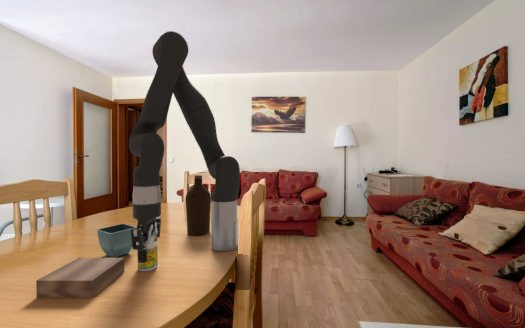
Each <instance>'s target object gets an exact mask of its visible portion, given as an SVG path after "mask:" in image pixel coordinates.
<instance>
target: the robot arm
mask: <svg viewBox="0 0 525 328" xmlns="http://www.w3.org/2000/svg"><path fill="white" fill-rule="evenodd" d="M151 53H152V56H153V59H154V61H155V63H156V66H157V68H156V71H155V73H154V77H153V79H152V82H151V83H150V85H149V88H148V90H147V92H146V95H145V98H144V100H143V103H142V104H143V105H142V109H141V112H140V116H139V119H138V120H137V122H136V124H135V125H134V127H133V130H132V132H131V134H130V137H129V140H128V147H129V151H130V153H131V154H132V155H134V156H136V157H138V158H139V157H140V158H139V163H138V166H136V167H134V169H133V175H132V176H133V177H132V178H133V179H132V181H133V185H132V186H133V189H132V218H133V219H135V220H137V223H136V225H137V226H136V227H137V228H136V229H132V230H131V239H132V250H135V251H137V250H138V256H137V263H138V262H139V263H145V262H146V261H147V243H148V241H149V240H150V236H151V234H154V235H155V240H154V241H156V242H158V238H161V237H160V236H161V227H162V226H161V225H162V218H159V217H160V216H161V215H162V197H161V196H162V192H161V183H160V182H161V178H160V176H161V175H160V173H161V172H160V171H161V167H162V165H163V164H162V163H163V160H164V155H165V144H164V140H163V138H162V137H161V136H160V134H158V133H157V132H158V131H159V130H160V129H162V128H164V127H165V125H166V122H167V117H168V113H169V109H170V105H171V101H172V98H173V97H172V96H174V99H176V102H177V105H178V106H179V108H180V111H181V113H182V115H183V118H184V119H185V121H186V124H187V126H188V127H189V129H190V131H191V133H192V135H193V137H194V139H195V142H196V143H197V146H198V148H199V149H200V151H201V154H202V157H203V159H204V162H205V165H206V168H207V171H208V173H209V175H210V176H211V177H212V178H213V179H214V180H215V181H214V183H215V184H214V185H215V186H214V190H213V191H212V193H211V194H210V195H211V249H212V250H214V251H216V252H229V251H233V250H234V251H235V250H237V247H238V245H239V219H238V195H239V191H240V180H241V179H240V178H241V171H240V170H241V169H240V163H239V161H238V160H237V159H236V158H235V157H233V156H230V155H225V153H224V151H223V149H222V147H221V145H220V143H219V140H218V135H217V127H216V126H217V125H216V120H215V117H214V114H213V112H212V110H211V107H210V105H209V103H208V101H207V99H206V97H204V96H203V94H202V93H201V92H200V91H199V90H198V89H197V88H196V87H195V86H194V85H193V84H192V83H191V81H190V79H189V78H188V76H187V74H186V72H185V71H186V70H185V69H184V63H185V62H186V59H187V58H188V54H189V45H188V42H187V40H186V39H185V38H184V36H183V35H182V34H181V33H179V32H177V31H174V30H170V31H165V32H164V33H162V34H161V35H160V36H159V37H158V39H157V40H156V42H155V43H154V44H153V46H152V50H151ZM143 237H146V238H143ZM143 241H144V245H143ZM237 244H238V245H237Z"/></svg>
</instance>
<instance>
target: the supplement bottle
mask: <svg viewBox="0 0 525 328" xmlns="http://www.w3.org/2000/svg"><path fill="white" fill-rule="evenodd" d="M143 238H146V237H143ZM154 240H155V235H154V234H151V236H150V240H149V241H148V243H147V261H146V262H145V263H139V262H138V261H137V269H138V271H140V272H150V271H153V270H155V269H156V268H157V267H158V264H159V263H158V262H159V261H158V260H159V259H158V241H154ZM143 245H144V241H143ZM136 251H137V252H136V253H137V254H136V255H137V257H138V250H136Z"/></svg>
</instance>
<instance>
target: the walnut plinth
mask: <svg viewBox="0 0 525 328" xmlns="http://www.w3.org/2000/svg"><path fill="white" fill-rule="evenodd" d="M123 273H125V257H115V258H113V257H77V258H75V259H74V260H72V261H70V262H69V263H66V264H64V265H63V266H61V267H59V268H57V269H55V270H53V271H51V272H50V273H48V274H46V275H44V276H42V277H40V278H38V279H37V280H36V281H35V282H36V285H35V286H36V298H37V297H40V298H41V297H43V299H44V297H45V299H46V298H56V299H57V298H58V299H59V298H60V299H61V298H68V299H69V298H72V299H73V298H74V299H75V298H78V299H80V298H82V299H83V298H85V299H87V298H88V299H89V298H90V299H92V298H94V297H95V296H97V295H98V294H99V293H100V292H101V291H103V290H104V289H105V288H106V287H107V286H108V285H110V284H111V283H113V282H114V281H115V280H116V279H117V278H118V277H120V276H121V275H122V274H123Z"/></svg>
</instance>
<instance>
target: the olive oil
mask: <svg viewBox="0 0 525 328" xmlns="http://www.w3.org/2000/svg"><path fill="white" fill-rule="evenodd" d="M193 180H194V184H193V185H192V187H190V189H188V190H187V192H186V195H185V212H186V231H187V232H186V233H187V235H188V236H192V237H201V236H206V235H209V234H210V232H211V231H210V229H211V227H210V225H211V224H210V223H211V207H212V200H211V195H212V194H211V193H210V191H209V190H208V189H207V188H206V187H205V185H204V184H203V175H200V174H199V175H197V174H195V175H194V179H193Z"/></svg>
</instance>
